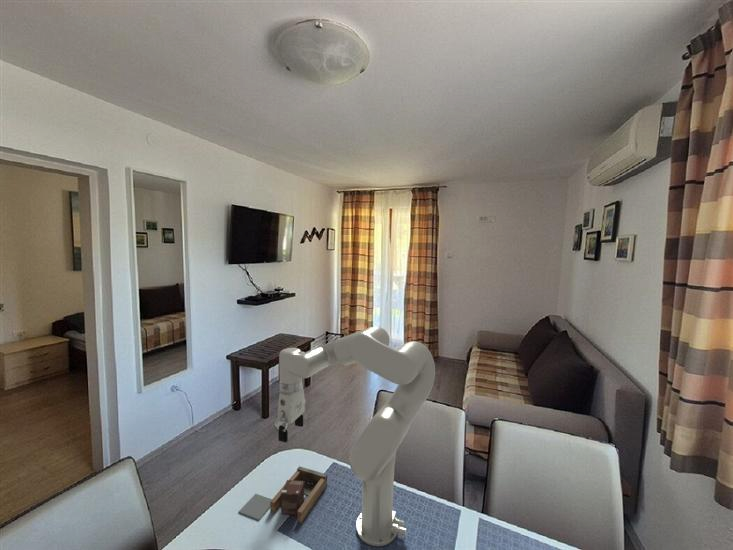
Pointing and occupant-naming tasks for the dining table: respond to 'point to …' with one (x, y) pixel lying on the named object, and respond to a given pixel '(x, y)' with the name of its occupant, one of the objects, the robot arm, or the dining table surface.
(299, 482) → the box
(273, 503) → the channel
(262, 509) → the pad
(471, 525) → the dining table surface
